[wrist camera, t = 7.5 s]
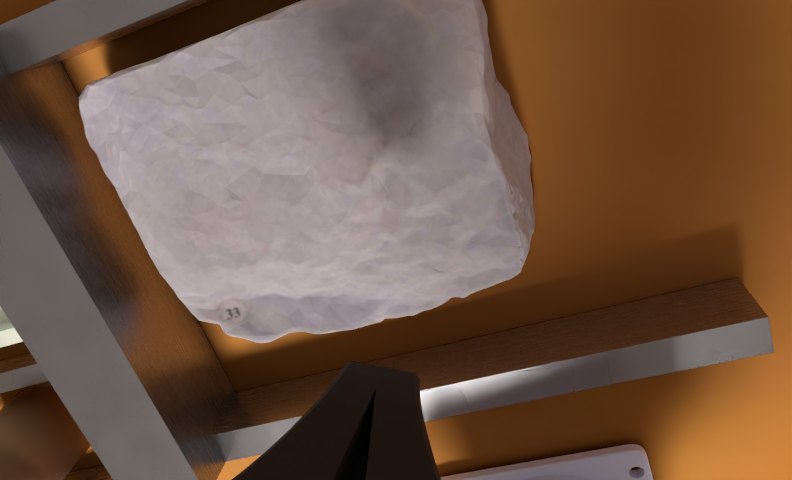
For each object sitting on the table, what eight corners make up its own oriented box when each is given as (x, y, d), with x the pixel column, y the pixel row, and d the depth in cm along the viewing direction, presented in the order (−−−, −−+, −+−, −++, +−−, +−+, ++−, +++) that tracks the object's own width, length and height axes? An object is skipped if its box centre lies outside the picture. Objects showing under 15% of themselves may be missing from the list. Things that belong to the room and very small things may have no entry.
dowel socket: (155, 470, 27) (141, 492, 26) (30, 495, 28) (12, 517, 27) (75, 340, 24) (56, 358, 23) (-56, 376, 26) (-80, 394, 25)
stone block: (553, 208, 22) (460, -95, 17) (572, 301, 18) (458, -58, 13) (255, 289, 25) (102, 56, 20) (217, 381, 21) (14, 123, 16)
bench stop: (743, 309, 20) (798, 386, 17) (183, 431, 26) (132, 509, 22) (646, -239, 15) (697, -301, 11) (-35, 55, 20) (-149, 77, 17)
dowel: (108, 448, 27) (11, 576, 21) (39, 463, 27) (-71, 589, 22) (64, 379, 25) (-52, 495, 20) (-7, 397, 26) (-136, 513, 21)
